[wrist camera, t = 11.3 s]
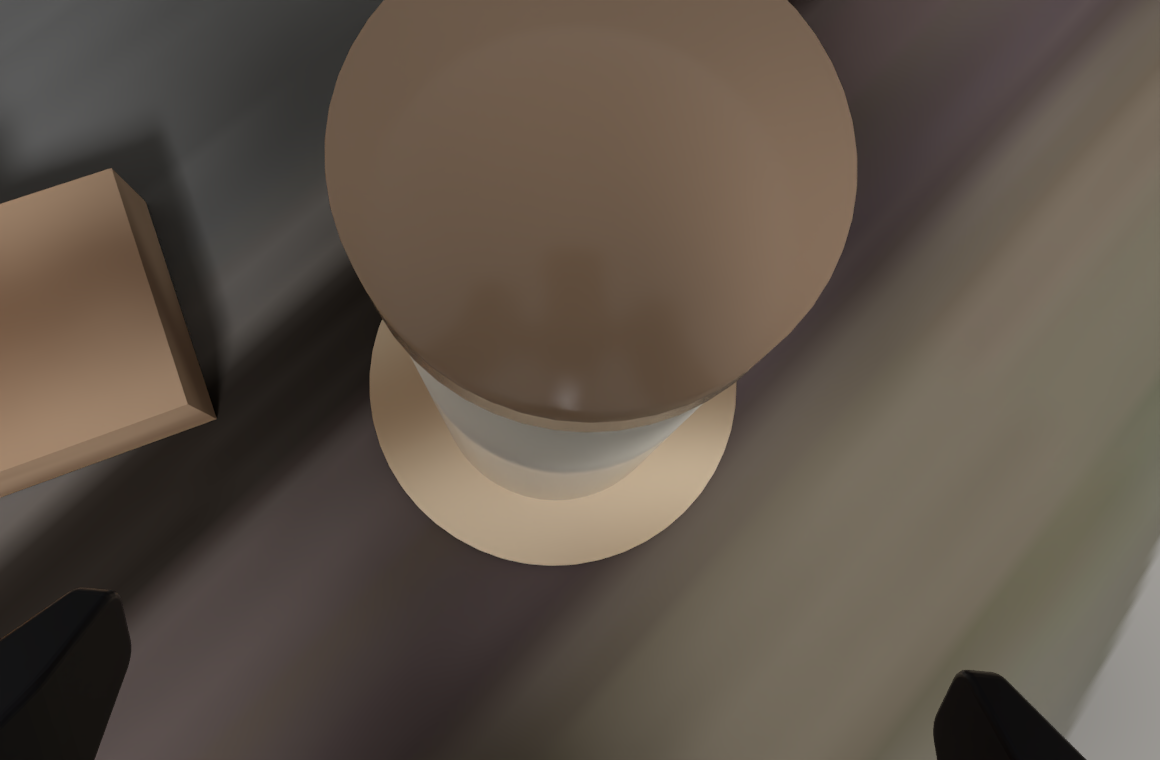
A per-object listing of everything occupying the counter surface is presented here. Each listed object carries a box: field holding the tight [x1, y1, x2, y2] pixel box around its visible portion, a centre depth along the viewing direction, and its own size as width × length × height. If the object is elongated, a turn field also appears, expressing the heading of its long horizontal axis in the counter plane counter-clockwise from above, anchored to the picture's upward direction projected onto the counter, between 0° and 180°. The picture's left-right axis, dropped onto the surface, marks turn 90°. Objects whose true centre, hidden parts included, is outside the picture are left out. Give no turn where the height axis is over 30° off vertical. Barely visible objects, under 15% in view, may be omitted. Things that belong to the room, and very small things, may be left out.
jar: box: [325, 0, 857, 500], centre depth 16 cm, size 6×6×13 cm
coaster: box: [370, 319, 736, 566], centre depth 23 cm, size 9×9×1 cm
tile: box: [0, 168, 217, 498], centre depth 22 cm, size 6×6×2 cm
